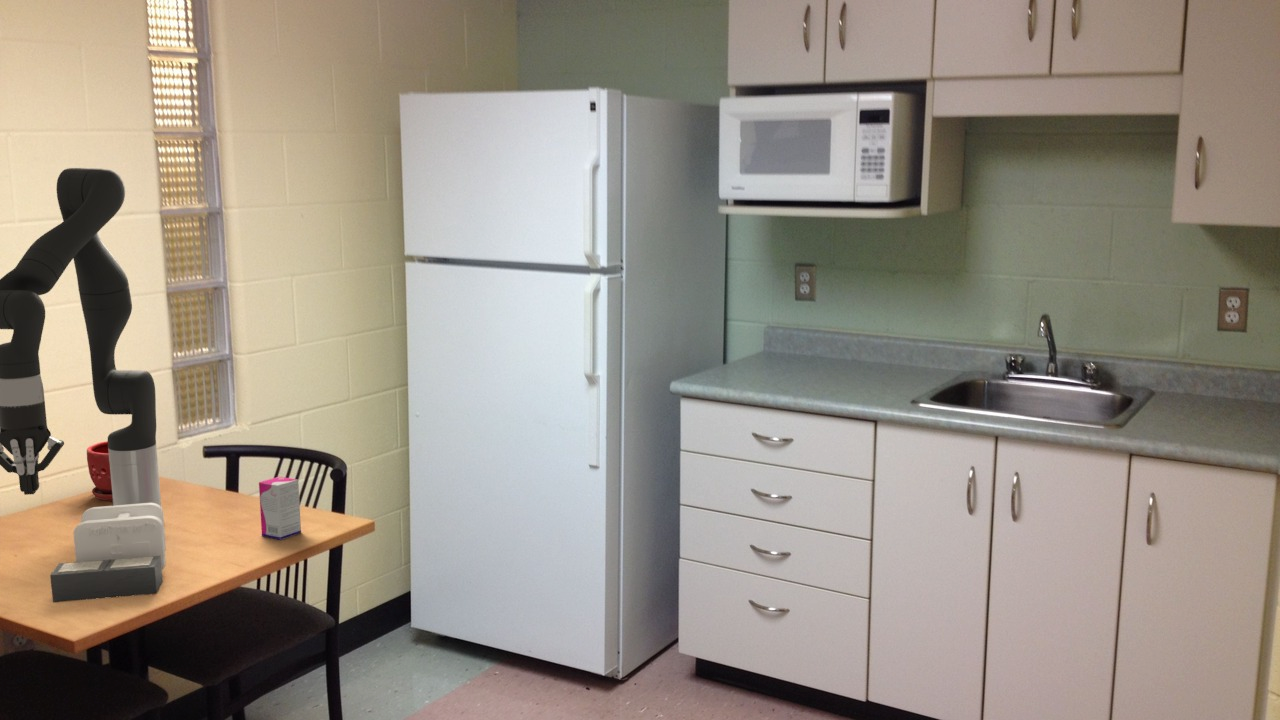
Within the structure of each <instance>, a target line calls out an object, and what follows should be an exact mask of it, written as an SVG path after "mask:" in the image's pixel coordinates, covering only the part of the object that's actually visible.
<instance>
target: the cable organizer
mask: <svg viewBox="0 0 1280 720" xmlns="http://www.w3.org/2000/svg"><path fill="white" fill-rule="evenodd" d="M164 519H165V518H164V510H163V508H162V505H161V506H160V505H158V504H156V503H140V504H128V505H115V506H113V505H106V506H93V507H90V508H87V509H86V510H85V511H84V512H83V513H82V515H81V518H80V520H81V522H80V523H79V524H77V525H76V527H75V528H74V530H73V533H72V534H73V542H74V552H75V553H74V554H75V562H86V561H99V560H109V559H124V558H137V557H150V556H161V567H162V570H163V569H164V567H165V565H166V550H167V545H166V544H167V543H166V533H165V532H166V531H165V520H164Z"/></svg>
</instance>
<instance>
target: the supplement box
mask: <svg viewBox="0 0 1280 720" xmlns="http://www.w3.org/2000/svg"><path fill="white" fill-rule="evenodd" d="M258 488H259V489H258V491H259V492H258V493H259V506H260V507H259V509H260V510H259V511H260V524H261V525H260V527H261V529H260V530H261V537H266V538H269V539H273V540H274V539H275V540H278V541H283V540H285V539H288V538H290V537H293V536H296V535H298V534H301V533H302V522H301V521H302V520H301V506H300V504H301V503H300V490H299V489H300V488H299V479H295V478H291V477H284V476H278V477H277V476H276V477H273V478H270V479H267V480H263V481H259V482H258Z"/></svg>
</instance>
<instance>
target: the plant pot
mask: <svg viewBox="0 0 1280 720" xmlns="http://www.w3.org/2000/svg"><path fill="white" fill-rule="evenodd" d="M86 460H87V462H86V463H87V468H88V473H89V477H90V479H91V481H92V484H93V485H94V487H93V488H92V489H91V493H92V495H93V496H94V497H95V498H96V499H99V500H101V501H108V502H109V501H110V502H111V501H112V502H113V495H112V484H111V473H110V462H109V451H108V440H106V441H101V442H97V443H93V444H92V445H89V447H87V449H86Z"/></svg>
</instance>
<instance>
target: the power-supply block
mask: <svg viewBox="0 0 1280 720" xmlns="http://www.w3.org/2000/svg"><path fill="white" fill-rule="evenodd" d="M49 576H50V585H51V586H50V587H51V595H52V603H61V602H63V603H64V602H74V601H75V602H76V601H84V600H85V601H86V599H87V600H97V599H96V598H99V599H106V598H105V597H111V598H120V597H119V596H121V598H122V596H123V597H132V595H134V596H143V595H157V594H158V592H159V590H160V588H161V586H162V584H163V583H164V581H163V580H164V579H163V569H162V567H161V556H150V557H137V558H124V559H109V560H99V561H86V562H76V561H75V562H62V563H58V564H57V566H56V567H55V568H54V570H53V571H52V572H51V574H50V575H49ZM116 596H118V597H116Z"/></svg>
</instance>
